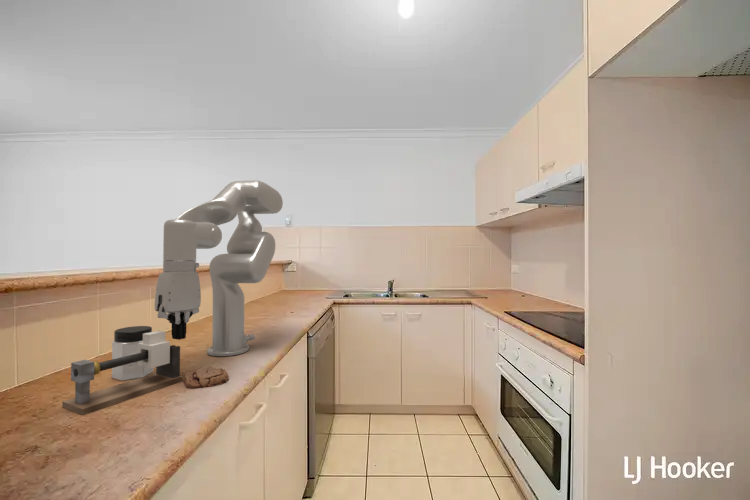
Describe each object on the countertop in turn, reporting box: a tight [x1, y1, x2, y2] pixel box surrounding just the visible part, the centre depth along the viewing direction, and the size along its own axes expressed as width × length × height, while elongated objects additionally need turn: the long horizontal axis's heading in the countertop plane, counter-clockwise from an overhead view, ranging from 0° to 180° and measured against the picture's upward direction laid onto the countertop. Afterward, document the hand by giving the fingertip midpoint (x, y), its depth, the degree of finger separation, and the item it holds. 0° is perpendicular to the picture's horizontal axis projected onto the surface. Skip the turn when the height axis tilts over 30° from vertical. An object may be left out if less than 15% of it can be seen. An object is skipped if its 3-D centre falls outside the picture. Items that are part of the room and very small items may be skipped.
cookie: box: [183, 366, 230, 389], centre depth 88 cm, size 10×11×3 cm
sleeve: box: [138, 330, 171, 369], centre depth 86 cm, size 4×5×8 cm
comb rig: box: [61, 344, 184, 416], centre depth 81 cm, size 21×8×9 cm, turn 154°
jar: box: [111, 325, 154, 382], centre depth 92 cm, size 9×8×12 cm
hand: (178, 338), depth 91 cm, fingers closed
